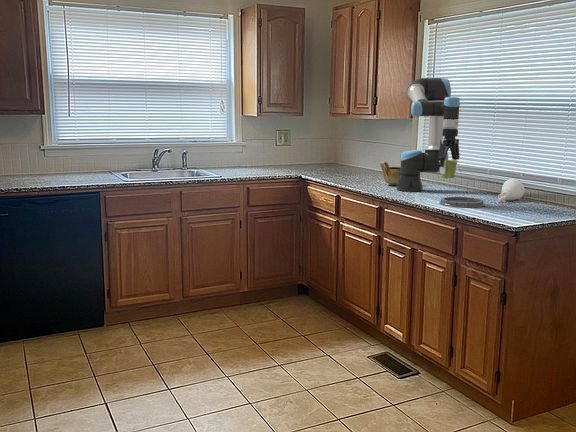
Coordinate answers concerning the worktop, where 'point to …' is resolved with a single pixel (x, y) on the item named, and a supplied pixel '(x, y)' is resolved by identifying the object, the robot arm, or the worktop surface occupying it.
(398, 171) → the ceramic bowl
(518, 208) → the worktop surface
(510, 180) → the white teardrop lump
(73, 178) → the worktop surface
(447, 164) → the plant pot
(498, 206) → the worktop surface
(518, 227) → the worktop surface
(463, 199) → the saucer
